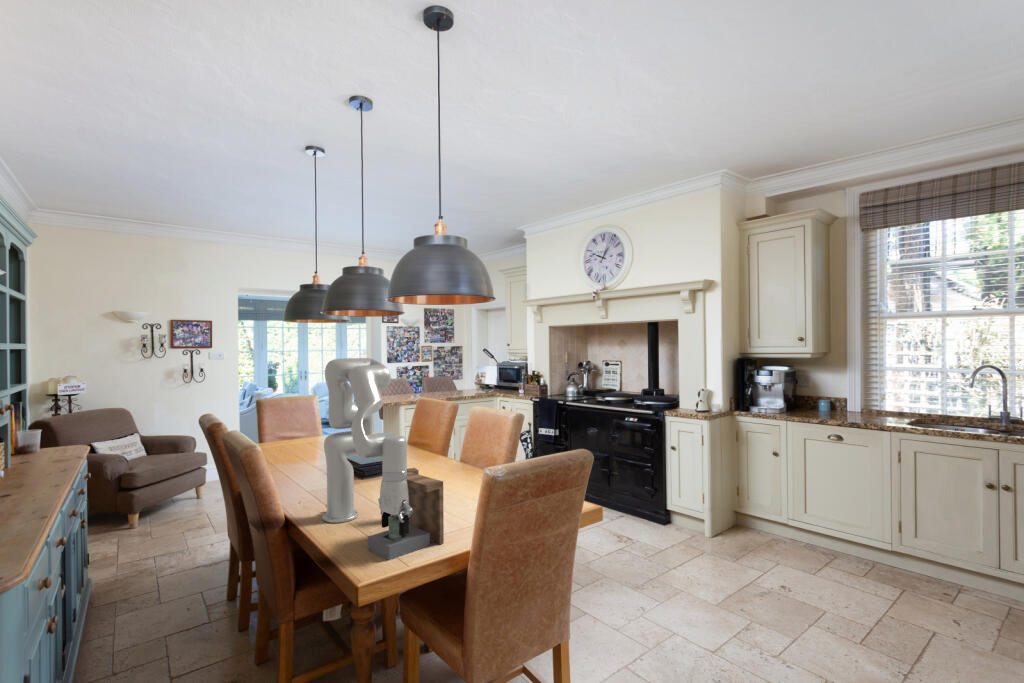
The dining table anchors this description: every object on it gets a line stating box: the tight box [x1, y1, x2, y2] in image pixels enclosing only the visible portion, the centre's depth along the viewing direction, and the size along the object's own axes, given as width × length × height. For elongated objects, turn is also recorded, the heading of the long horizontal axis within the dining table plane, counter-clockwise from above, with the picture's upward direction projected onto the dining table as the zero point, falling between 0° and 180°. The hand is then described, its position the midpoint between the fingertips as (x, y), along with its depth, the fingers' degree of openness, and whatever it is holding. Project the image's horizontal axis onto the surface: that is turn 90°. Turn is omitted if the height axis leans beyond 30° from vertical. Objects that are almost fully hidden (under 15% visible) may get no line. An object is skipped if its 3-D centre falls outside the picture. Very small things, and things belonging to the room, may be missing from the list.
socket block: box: [367, 525, 431, 561], centre depth 161 cm, size 12×15×4 cm
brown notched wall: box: [406, 472, 445, 545], centre depth 168 cm, size 18×6×20 cm, turn 47°
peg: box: [388, 515, 402, 541], centre depth 160 cm, size 4×4×10 cm
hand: (395, 530), depth 160 cm, fingers open, 9 cm apart
